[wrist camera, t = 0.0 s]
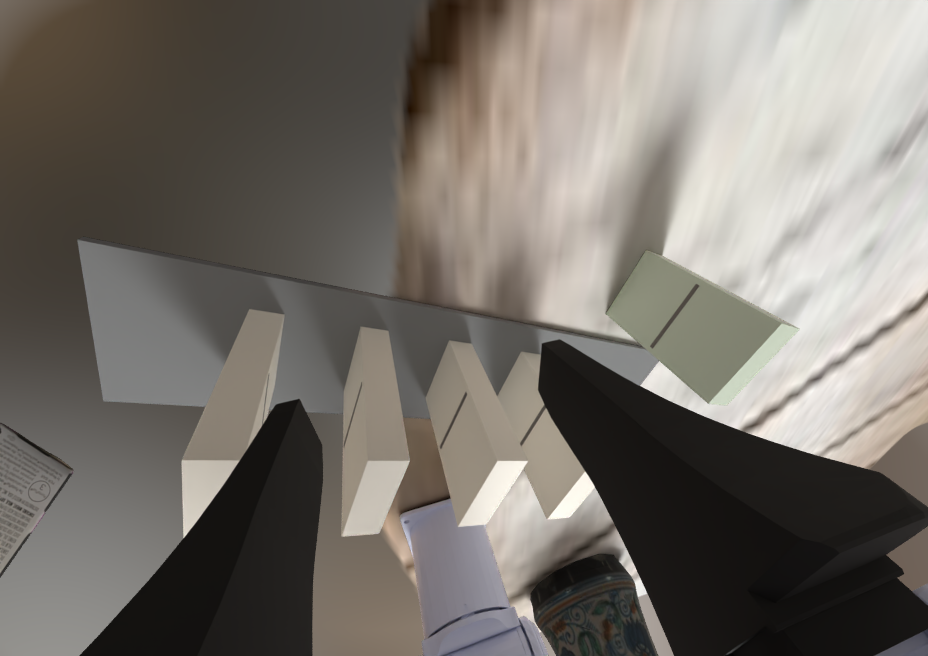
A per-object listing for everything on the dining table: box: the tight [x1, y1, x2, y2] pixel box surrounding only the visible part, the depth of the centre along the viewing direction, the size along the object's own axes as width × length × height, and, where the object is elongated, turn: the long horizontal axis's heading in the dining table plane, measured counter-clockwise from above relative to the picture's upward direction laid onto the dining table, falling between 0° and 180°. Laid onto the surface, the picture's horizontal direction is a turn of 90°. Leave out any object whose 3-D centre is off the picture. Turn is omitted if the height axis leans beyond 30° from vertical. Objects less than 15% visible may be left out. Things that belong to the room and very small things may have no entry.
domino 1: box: [182, 309, 284, 537], centre depth 15 cm, size 2×5×9 cm, turn 159°
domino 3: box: [426, 340, 528, 527], centre depth 20 cm, size 2×5×9 cm, turn 159°
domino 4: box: [497, 352, 595, 519], centre depth 22 cm, size 2×5×9 cm, turn 159°
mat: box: [77, 237, 659, 419], centre depth 24 cm, size 36×9×1 cm, turn 69°
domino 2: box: [342, 327, 410, 537], centre depth 18 cm, size 2×5×9 cm, turn 159°
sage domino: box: [606, 250, 799, 406], centre depth 21 cm, size 2×5×9 cm, turn 159°
